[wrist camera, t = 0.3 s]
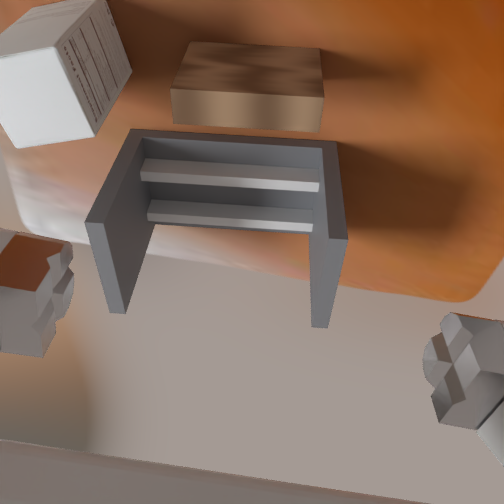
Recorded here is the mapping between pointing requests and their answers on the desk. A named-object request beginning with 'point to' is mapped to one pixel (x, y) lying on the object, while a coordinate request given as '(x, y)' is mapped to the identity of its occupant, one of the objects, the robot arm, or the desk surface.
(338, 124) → the desk surface
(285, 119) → the door panel
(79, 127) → the supplement box
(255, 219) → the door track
